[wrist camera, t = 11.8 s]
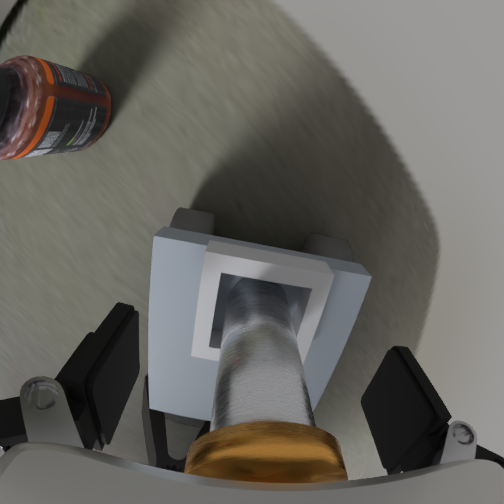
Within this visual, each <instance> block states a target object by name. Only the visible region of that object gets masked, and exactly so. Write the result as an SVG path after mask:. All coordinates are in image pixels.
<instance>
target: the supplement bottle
mask: <svg viewBox="0 0 504 504" xmlns="http://www.w3.org/2000/svg"><path fill="white" fill-rule="evenodd" d="M110 114H111V98H110V93H109V91H108V89H107V88H106V86H105V85H104V84H103V83H102V82H101V81H100V80H98V79H97V78H95V77H93V76H90V75H88V74H85V73H82V72H79V71H76V70H73V69H70V68H68V67H65V66H62V65H58V64H55V63H52V62H49V61H46V60H43V59H39V58H35V57H32V56H17V57H13V58H11V59H9V60H7V61H5V62H4V63H2V64H1V65H0V160H8V159H15V158H22V157H29V156H37V155H45V154H55V153H65V152H73V151H80V150H83V149H86V148H88V147H90V146H91V145H92V144H93V143H95V142H96V141H97V140H98V139H99V138H100V136H101V135H102V134H103V132H104V131H105V129H106V127H107V125H108V122H109V119H110Z"/></svg>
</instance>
